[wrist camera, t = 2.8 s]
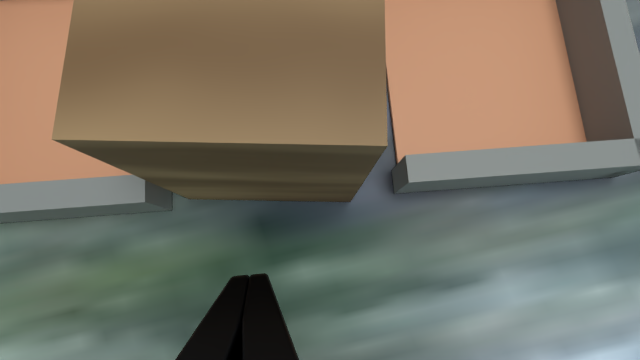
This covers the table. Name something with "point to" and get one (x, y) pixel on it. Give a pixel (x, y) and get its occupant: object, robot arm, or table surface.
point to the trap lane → (404, 97)
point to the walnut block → (229, 94)
